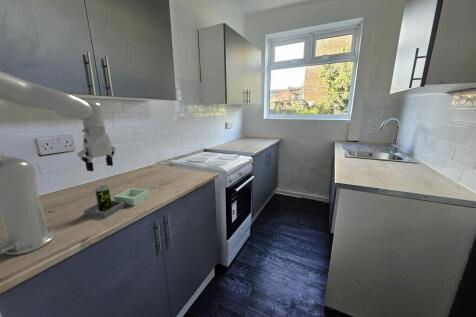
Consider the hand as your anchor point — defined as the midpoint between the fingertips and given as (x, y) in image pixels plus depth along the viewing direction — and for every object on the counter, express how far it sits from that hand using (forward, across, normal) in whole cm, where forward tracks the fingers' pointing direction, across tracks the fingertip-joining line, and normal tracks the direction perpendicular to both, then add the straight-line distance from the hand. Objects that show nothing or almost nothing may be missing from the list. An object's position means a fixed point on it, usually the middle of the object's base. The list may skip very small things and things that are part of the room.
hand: (100, 168), depth 91 cm
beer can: (+21, -1, -1) cm, 21 cm away
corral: (+21, -1, -1) cm, 21 cm away
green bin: (+21, +12, -4) cm, 24 cm away
